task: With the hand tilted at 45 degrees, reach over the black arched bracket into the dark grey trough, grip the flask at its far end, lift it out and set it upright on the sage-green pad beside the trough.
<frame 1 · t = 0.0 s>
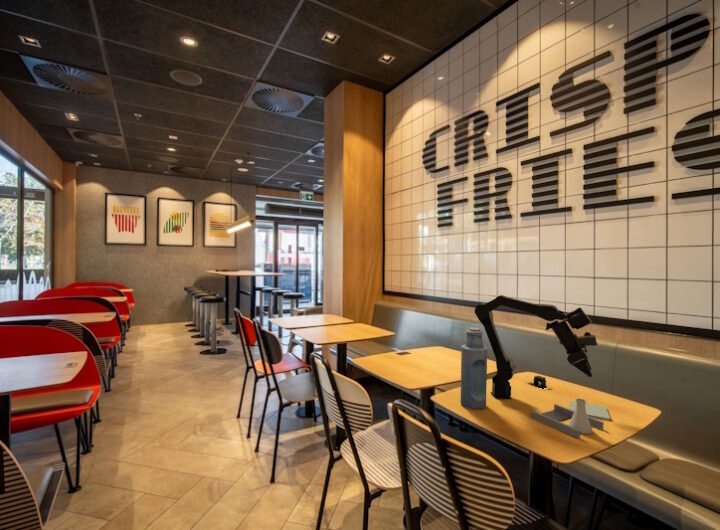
hand: (590, 373, 136), 15 cm above the table, tool tilted 35°, fingers open, 9 cm apart
black arched bracket: (539, 387, 165), on the table
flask: (580, 430, 123), on the table
pad: (588, 411, 138), on the table
trough: (565, 423, 127), on the table
bottle: (473, 405, 142), on the table
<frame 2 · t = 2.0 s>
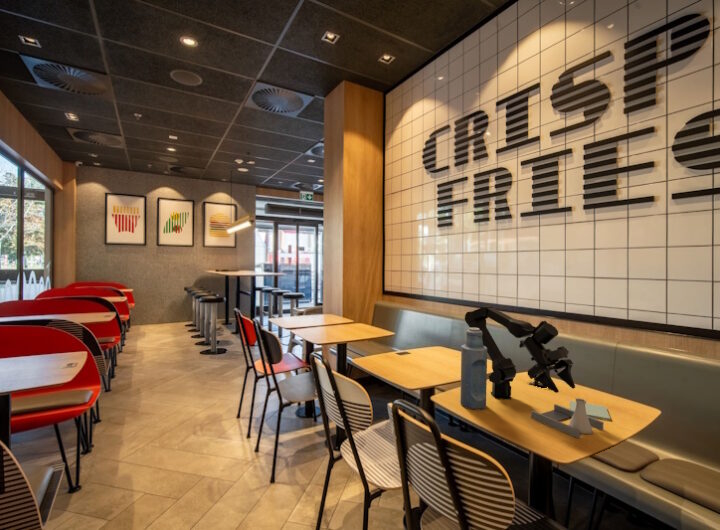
hand: (566, 390, 127), 12 cm above the table, tool tilted 45°, fingers open, 9 cm apart
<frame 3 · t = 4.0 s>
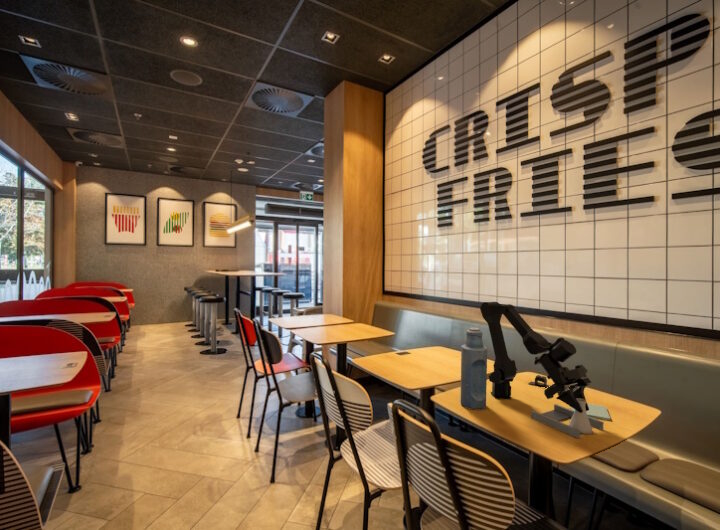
hand: (585, 411, 121), 7 cm above the table, tool tilted 45°, fingers closed on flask, 3 cm apart
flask: (580, 430, 123), on the table, touching gripper
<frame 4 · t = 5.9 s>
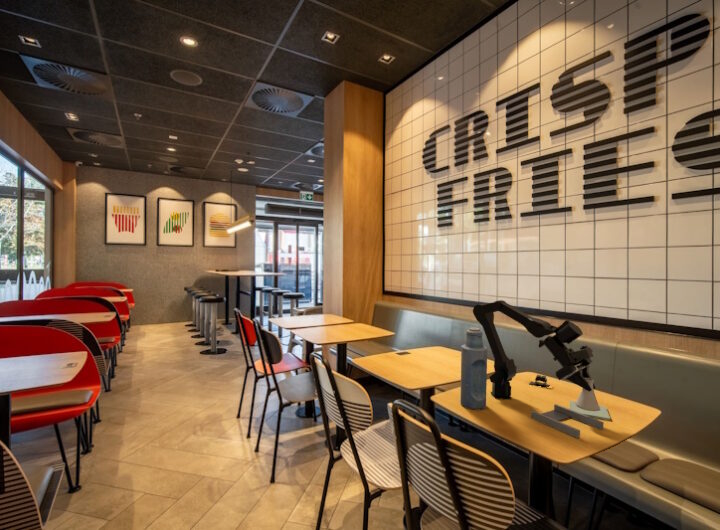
hand: (592, 389, 126), 12 cm above the table, tool tilted 45°, fingers closed on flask, 3 cm apart
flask: (587, 408, 127), point 5 cm above the table, touching gripper
when the fingers open (9 cm above the table, at t = 7.9 s): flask drops 1 cm, resting on pad.
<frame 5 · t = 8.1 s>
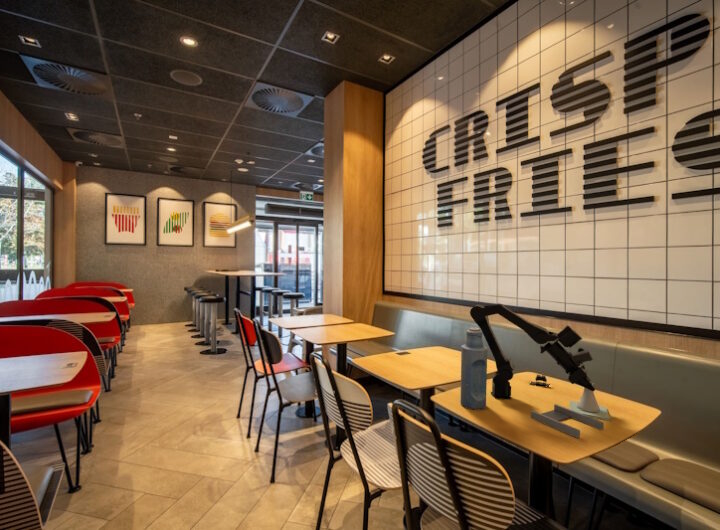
hand: (593, 388, 137), 9 cm above the table, tool tilted 45°, fingers open, 5 cm apart
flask: (588, 409, 138), point 1 cm above the table, touching pad
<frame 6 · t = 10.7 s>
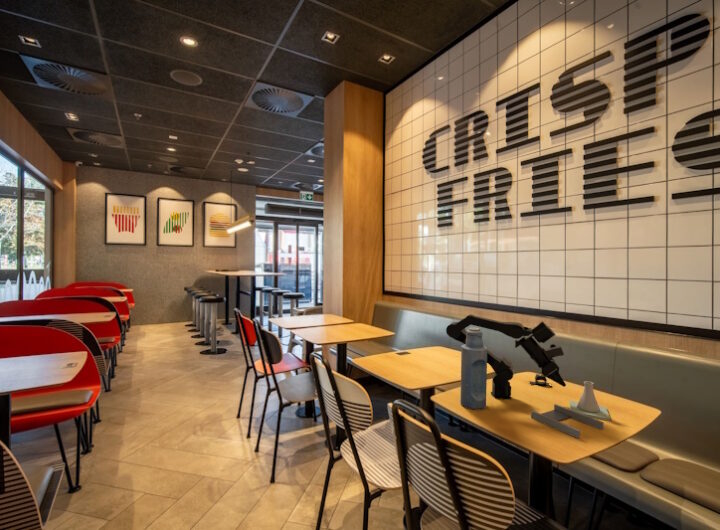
hand: (563, 383, 141), 9 cm above the table, tool tilted 40°, fingers open, 9 cm apart
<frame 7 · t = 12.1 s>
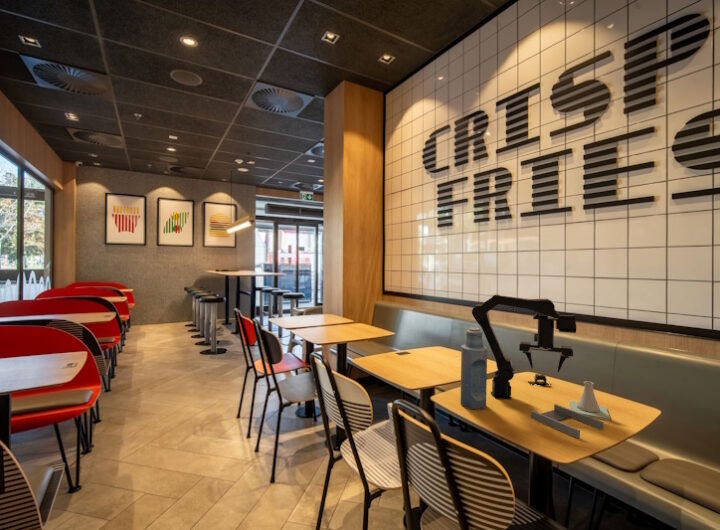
hand: (545, 370, 145), 13 cm above the table, tool pointing down, fingers open, 9 cm apart
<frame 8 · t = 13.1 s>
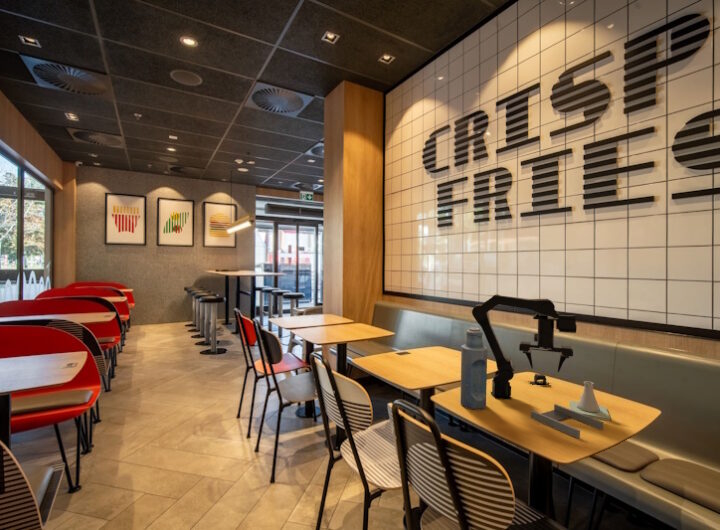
hand: (545, 370, 145), 13 cm above the table, tool pointing down, fingers open, 9 cm apart
at the end: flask inside the target area on the pad (0.2 cm from its centre), point 0.6 cm above the pad's base; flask tilted 0°; the gripper is holding nothing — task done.
